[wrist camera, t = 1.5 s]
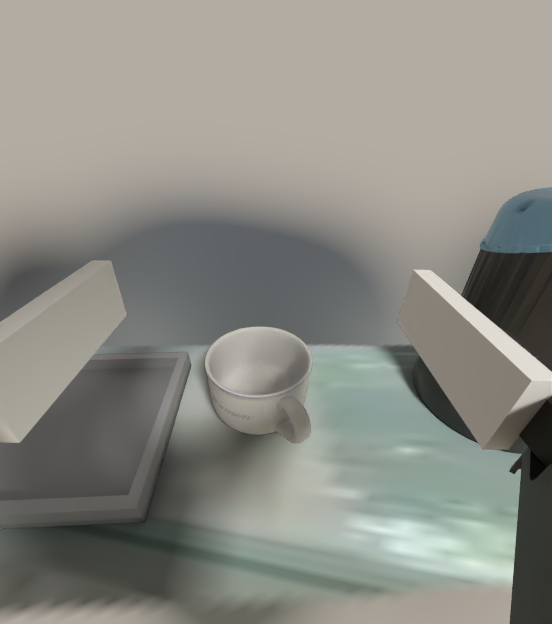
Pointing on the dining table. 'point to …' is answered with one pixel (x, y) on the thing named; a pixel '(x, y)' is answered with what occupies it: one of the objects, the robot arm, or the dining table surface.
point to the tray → (96, 445)
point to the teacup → (261, 381)
